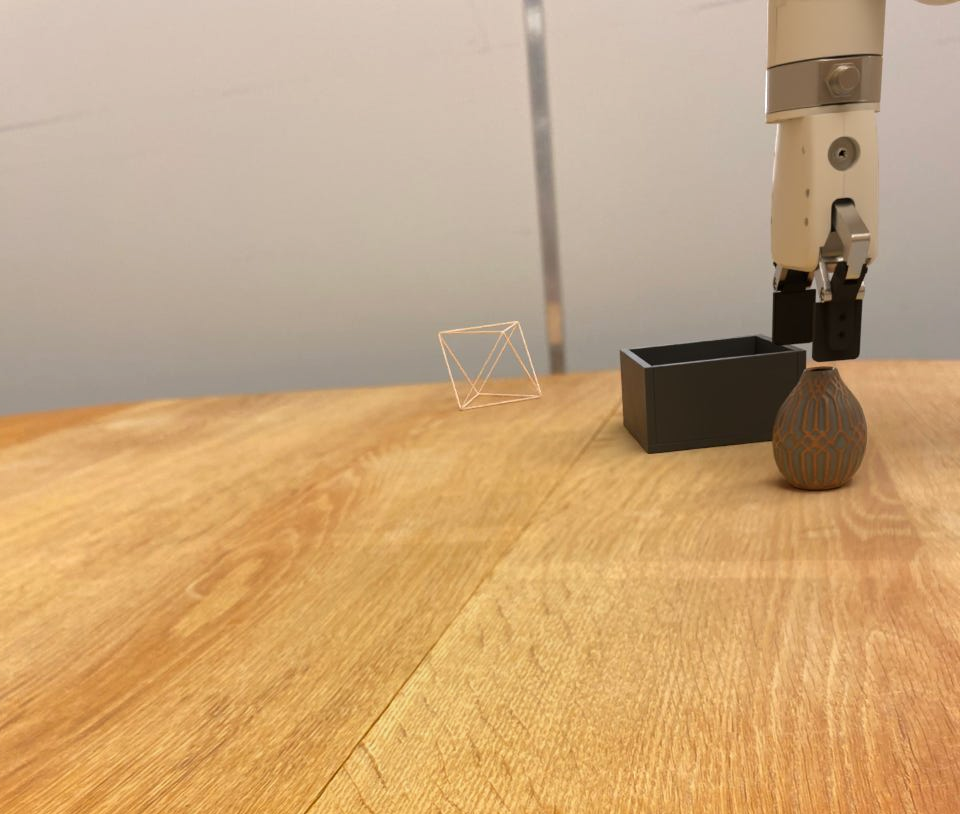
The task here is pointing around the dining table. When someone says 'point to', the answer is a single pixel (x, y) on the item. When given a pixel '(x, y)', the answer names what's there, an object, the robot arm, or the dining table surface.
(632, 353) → the bin
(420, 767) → the dining table surface
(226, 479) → the dining table surface
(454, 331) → the geometric polyhedron
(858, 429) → the vase
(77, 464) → the dining table surface
